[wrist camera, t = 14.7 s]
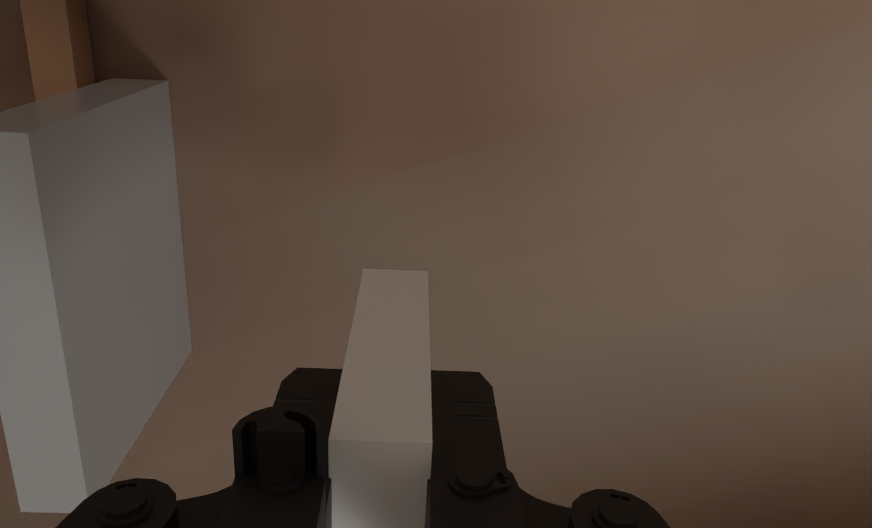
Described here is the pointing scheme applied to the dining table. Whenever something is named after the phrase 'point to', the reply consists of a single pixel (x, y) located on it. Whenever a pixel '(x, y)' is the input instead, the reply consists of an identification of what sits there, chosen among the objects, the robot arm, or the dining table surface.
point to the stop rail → (57, 45)
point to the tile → (87, 283)
